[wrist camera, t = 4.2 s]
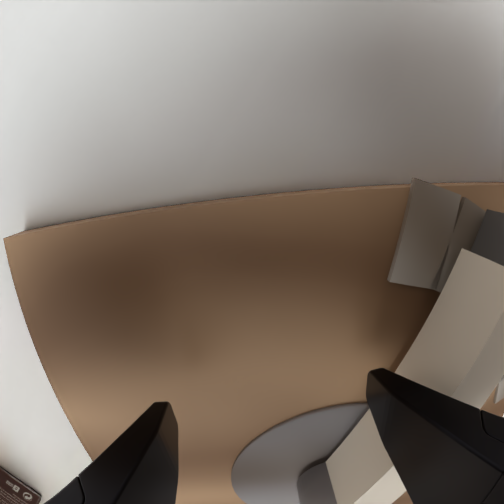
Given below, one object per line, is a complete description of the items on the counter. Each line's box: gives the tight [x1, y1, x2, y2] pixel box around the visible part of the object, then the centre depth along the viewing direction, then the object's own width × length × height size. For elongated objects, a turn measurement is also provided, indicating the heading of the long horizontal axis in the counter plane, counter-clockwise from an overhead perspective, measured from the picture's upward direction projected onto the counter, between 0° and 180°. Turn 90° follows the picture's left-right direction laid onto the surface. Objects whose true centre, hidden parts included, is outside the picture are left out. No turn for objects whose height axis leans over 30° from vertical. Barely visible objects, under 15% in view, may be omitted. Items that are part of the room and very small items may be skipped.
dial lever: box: [296, 209, 504, 504], centre depth 8 cm, size 13×3×3 cm, turn 157°
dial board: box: [4, 178, 504, 504], centre depth 11 cm, size 20×21×1 cm
